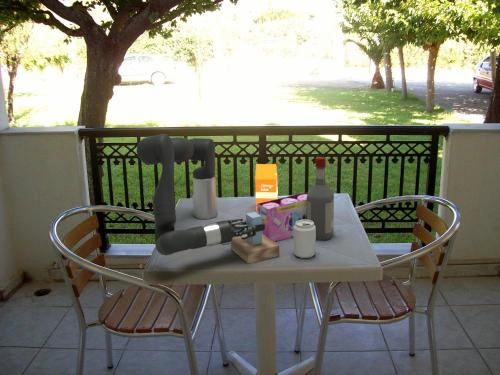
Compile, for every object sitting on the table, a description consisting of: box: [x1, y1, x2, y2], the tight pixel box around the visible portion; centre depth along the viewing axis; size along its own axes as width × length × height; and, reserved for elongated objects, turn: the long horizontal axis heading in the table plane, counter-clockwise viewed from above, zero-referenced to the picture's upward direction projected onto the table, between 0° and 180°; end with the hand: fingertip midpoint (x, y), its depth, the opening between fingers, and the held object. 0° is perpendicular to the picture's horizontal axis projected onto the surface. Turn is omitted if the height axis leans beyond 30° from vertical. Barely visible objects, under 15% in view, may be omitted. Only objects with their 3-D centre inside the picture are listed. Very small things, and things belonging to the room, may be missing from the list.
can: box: [293, 220, 317, 259], centre depth 177 cm, size 8×8×12 cm
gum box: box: [256, 192, 309, 243], centre depth 196 cm, size 24×8×14 cm, turn 121°
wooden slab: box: [230, 234, 280, 265], centre depth 181 cm, size 12×14×4 cm
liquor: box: [307, 156, 335, 242], centre depth 190 cm, size 9×9×30 cm
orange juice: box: [254, 163, 279, 212], centre depth 224 cm, size 8×9×20 cm
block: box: [245, 211, 262, 245], centre depth 179 cm, size 4×5×10 cm
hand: (260, 224), depth 180 cm, fingers closed on block, 5 cm apart
